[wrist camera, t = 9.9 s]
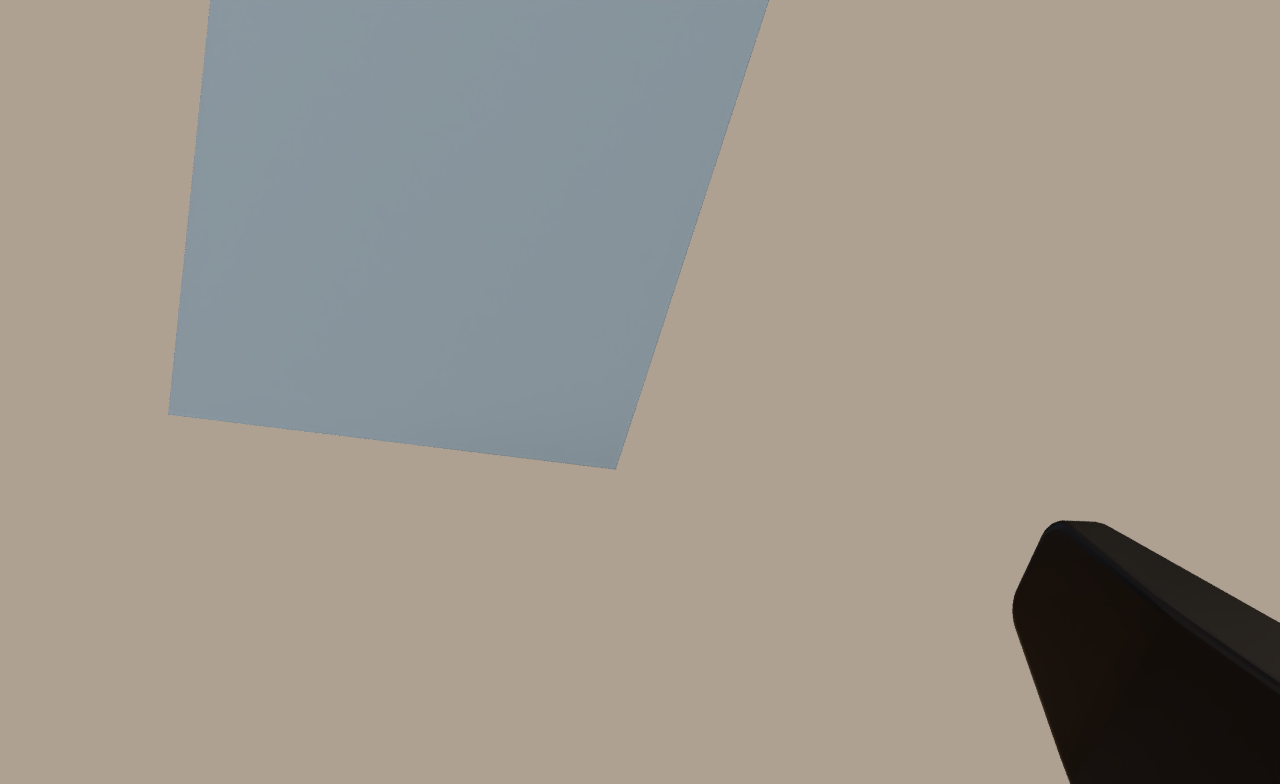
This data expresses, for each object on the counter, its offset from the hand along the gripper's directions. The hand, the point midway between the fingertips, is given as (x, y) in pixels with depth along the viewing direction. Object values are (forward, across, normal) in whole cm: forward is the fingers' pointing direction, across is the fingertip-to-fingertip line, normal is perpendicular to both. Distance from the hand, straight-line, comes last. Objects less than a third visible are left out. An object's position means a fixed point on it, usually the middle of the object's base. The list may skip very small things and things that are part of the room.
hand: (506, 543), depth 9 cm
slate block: (+12, 0, 0) cm, 12 cm away
